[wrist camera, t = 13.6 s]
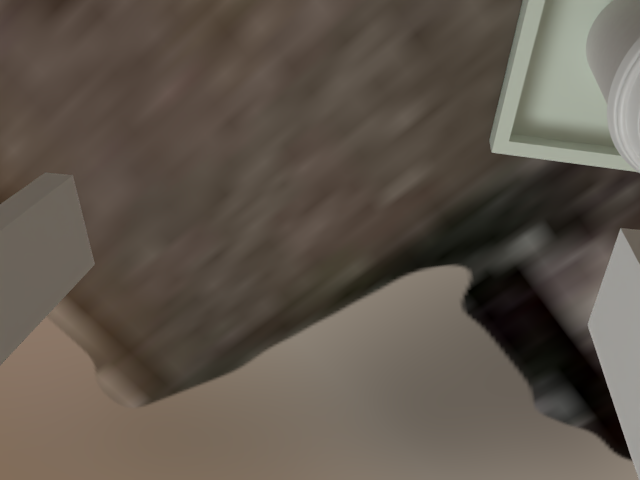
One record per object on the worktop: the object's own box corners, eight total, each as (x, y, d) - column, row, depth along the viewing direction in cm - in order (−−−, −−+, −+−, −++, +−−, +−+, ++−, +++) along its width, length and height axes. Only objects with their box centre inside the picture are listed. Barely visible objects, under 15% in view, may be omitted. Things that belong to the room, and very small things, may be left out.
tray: (551, -121, 34) (558, -123, 32) (818, -102, 33) (843, -102, 30) (489, 140, 43) (491, 152, 41) (696, 167, 41) (709, 181, 39)
